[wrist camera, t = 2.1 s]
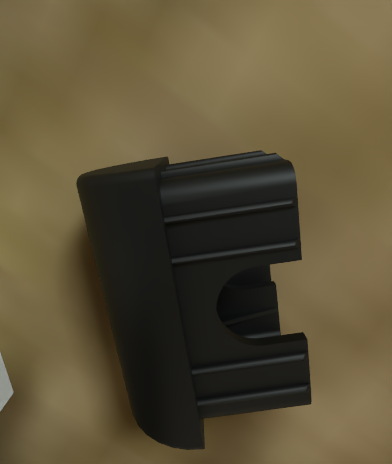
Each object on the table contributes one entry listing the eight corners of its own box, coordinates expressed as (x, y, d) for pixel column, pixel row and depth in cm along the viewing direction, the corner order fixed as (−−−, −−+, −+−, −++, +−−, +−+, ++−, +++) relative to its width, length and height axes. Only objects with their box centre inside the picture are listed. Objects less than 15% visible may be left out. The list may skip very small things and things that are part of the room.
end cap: (104, 165, 16) (43, 185, 9) (255, 142, 16) (300, 145, 9) (144, 349, 18) (119, 464, 12) (273, 331, 18) (319, 438, 12)
